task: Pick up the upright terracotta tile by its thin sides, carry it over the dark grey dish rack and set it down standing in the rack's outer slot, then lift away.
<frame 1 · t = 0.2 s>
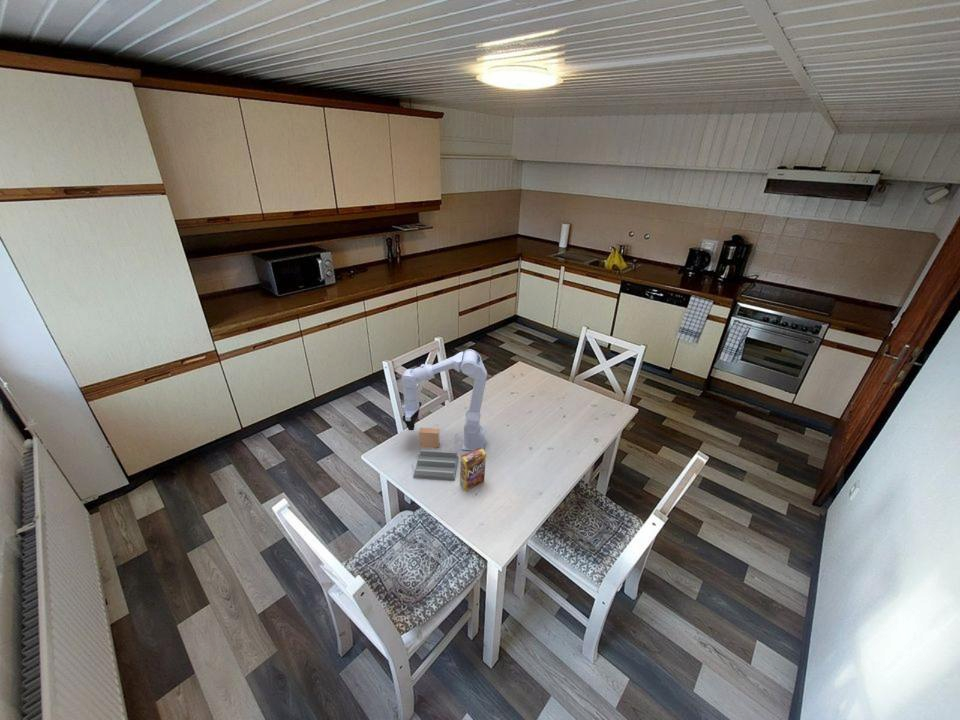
hand: (413, 424, 163), 10 cm above the table, fingers open, 7 cm apart
rack: (436, 467, 155), on the table
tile: (430, 445, 166), on the table
candy box: (472, 484, 148), on the table
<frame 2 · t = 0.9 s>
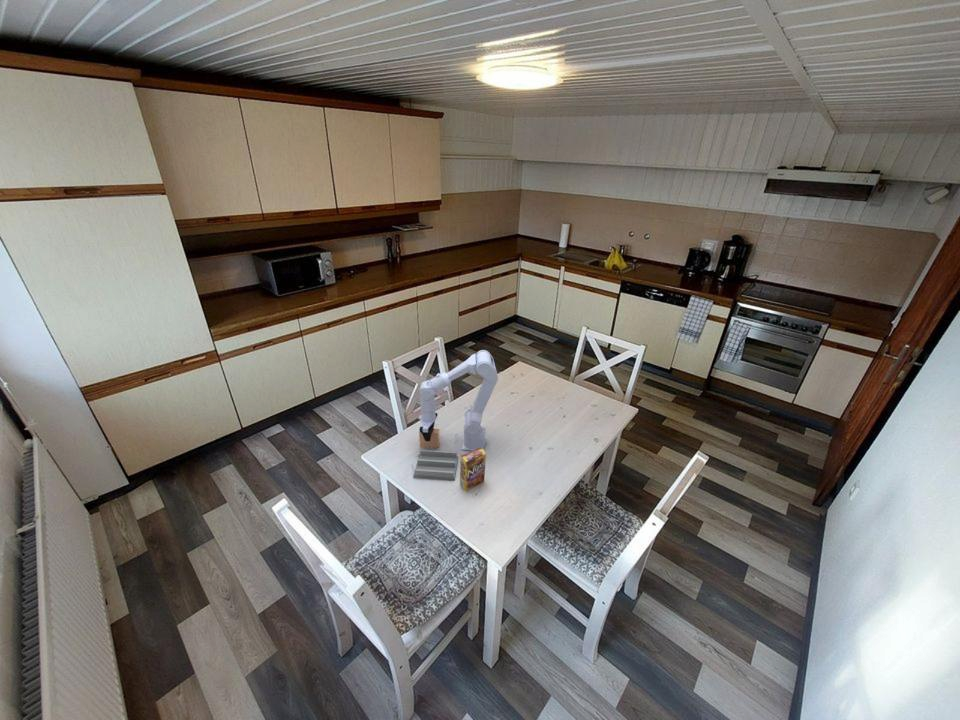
hand: (429, 434, 163), 6 cm above the table, fingers open, 7 cm apart
nothing on the table moved.
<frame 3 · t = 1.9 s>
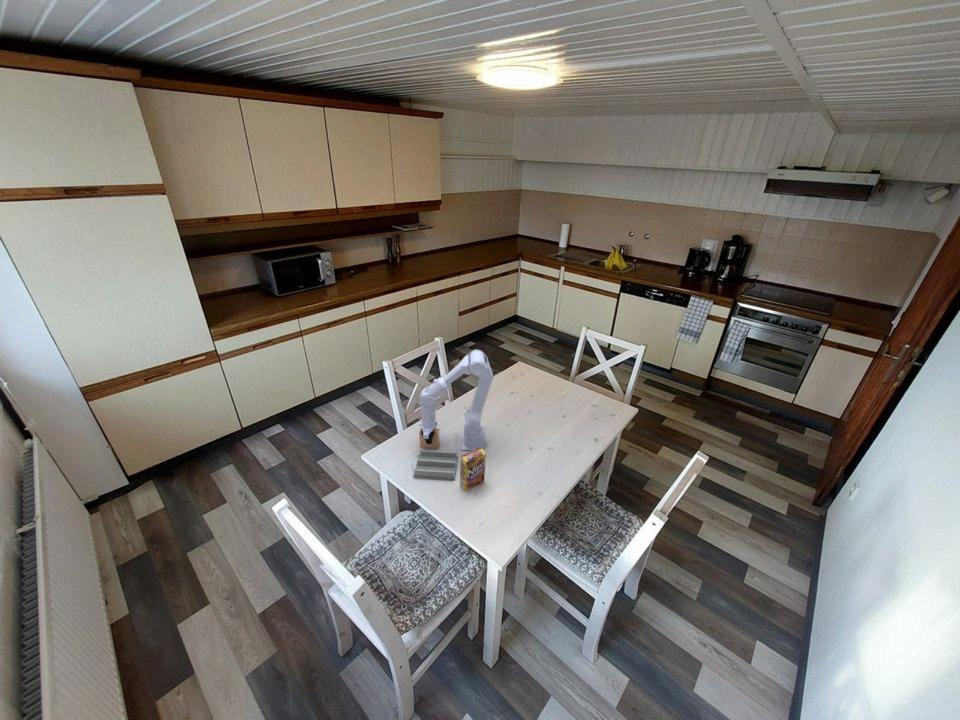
hand: (429, 440, 165), 2 cm above the table, fingers closed on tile, 3 cm apart
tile: (430, 445, 166), on the table, touching gripper
everything else where it was.
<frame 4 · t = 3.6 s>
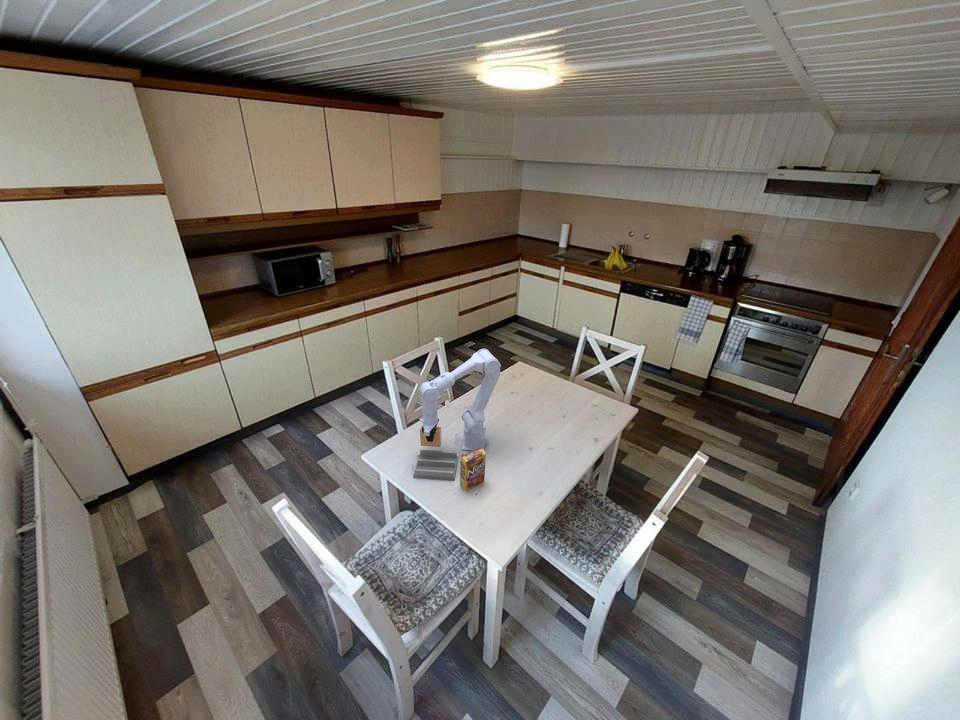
hand: (431, 438, 156), 9 cm above the table, fingers closed on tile, 3 cm apart
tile: (431, 444, 157), point 6 cm above the table, touching gripper
everything else where it was.
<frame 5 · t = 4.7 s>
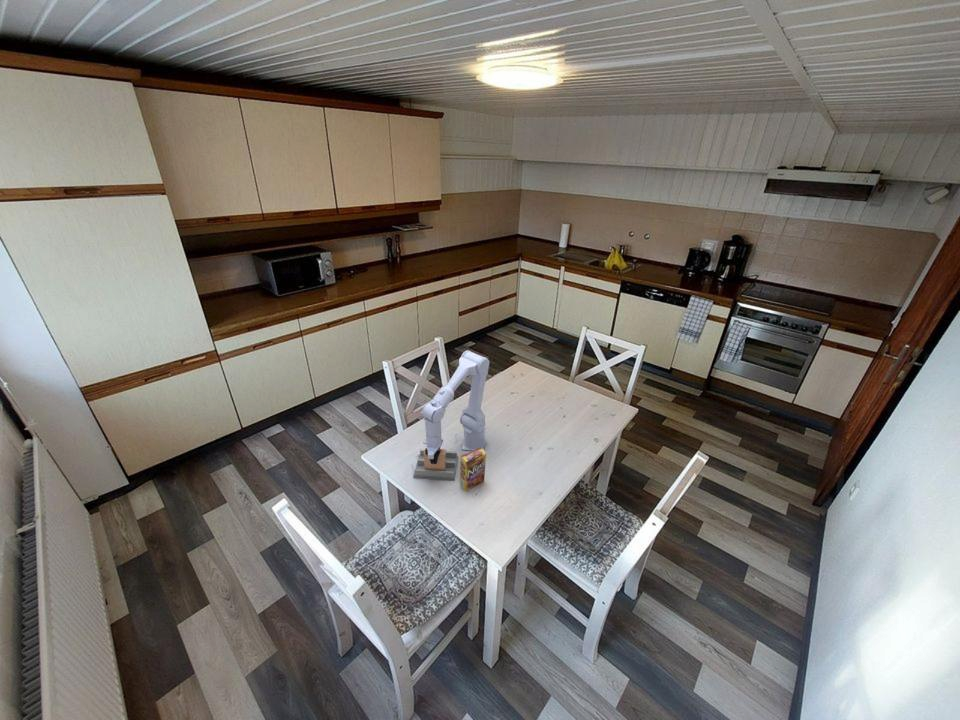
hand: (434, 459, 149), 7 cm above the table, fingers closed on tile, 3 cm apart
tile: (435, 467, 151), point 3 cm above the table, touching gripper
everything else where it was.
when the fingers open (5 cm above the table, at t = 5.3 s): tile stays where it is, resting on rack.
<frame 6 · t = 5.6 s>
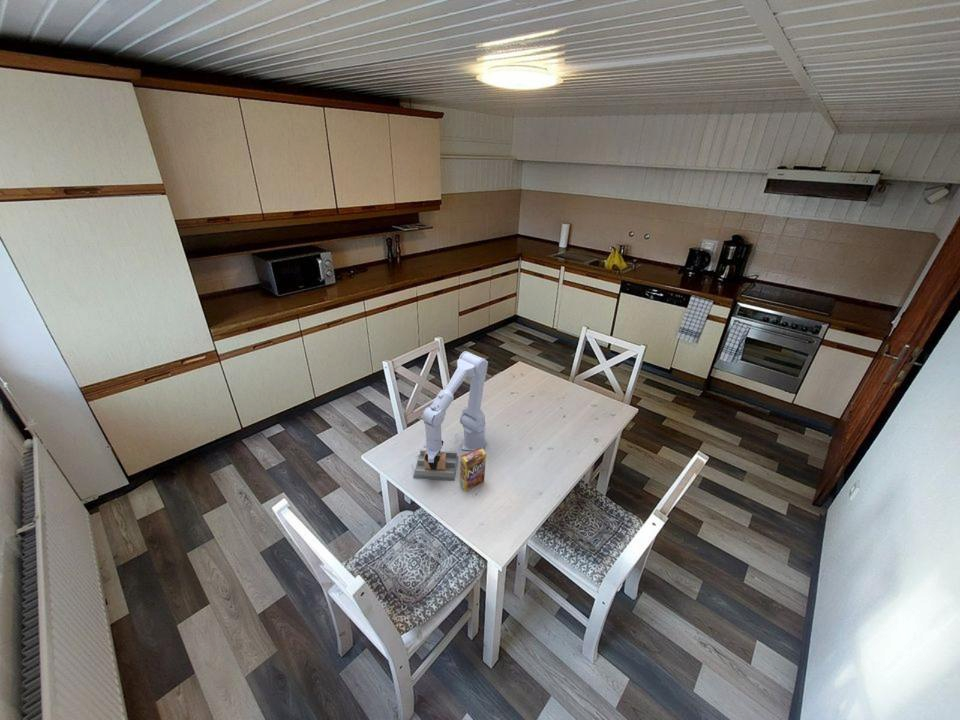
hand: (434, 463, 150), 5 cm above the table, fingers open, 5 cm apart
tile: (435, 470, 152), point 1 cm above the table, touching rack
everything else where it was.
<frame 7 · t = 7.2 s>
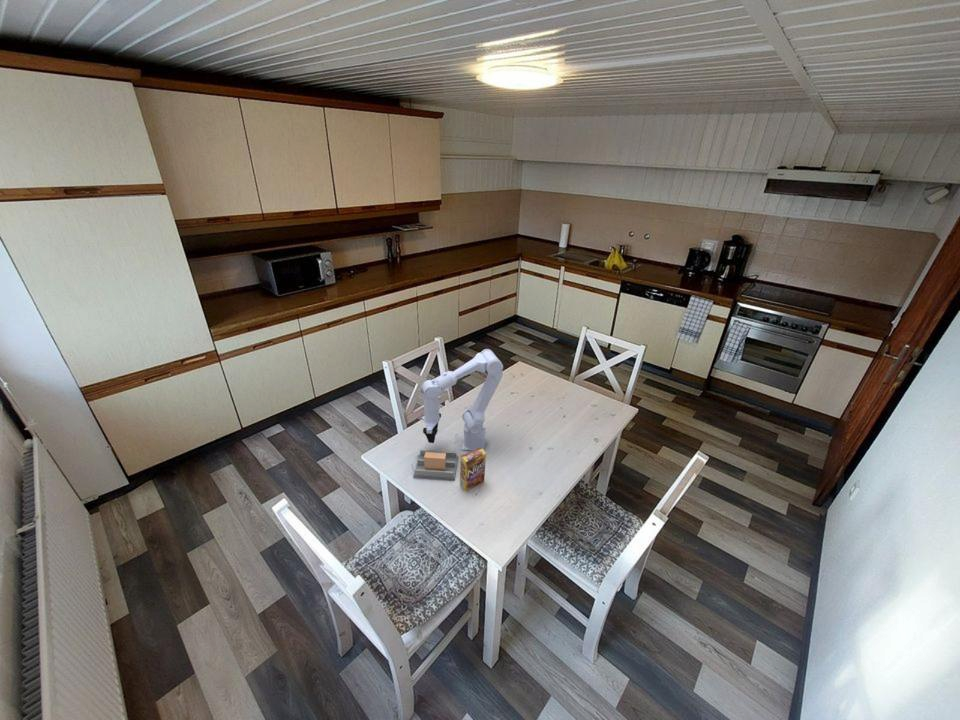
hand: (433, 435, 157), 9 cm above the table, fingers open, 7 cm apart
nothing on the table moved.
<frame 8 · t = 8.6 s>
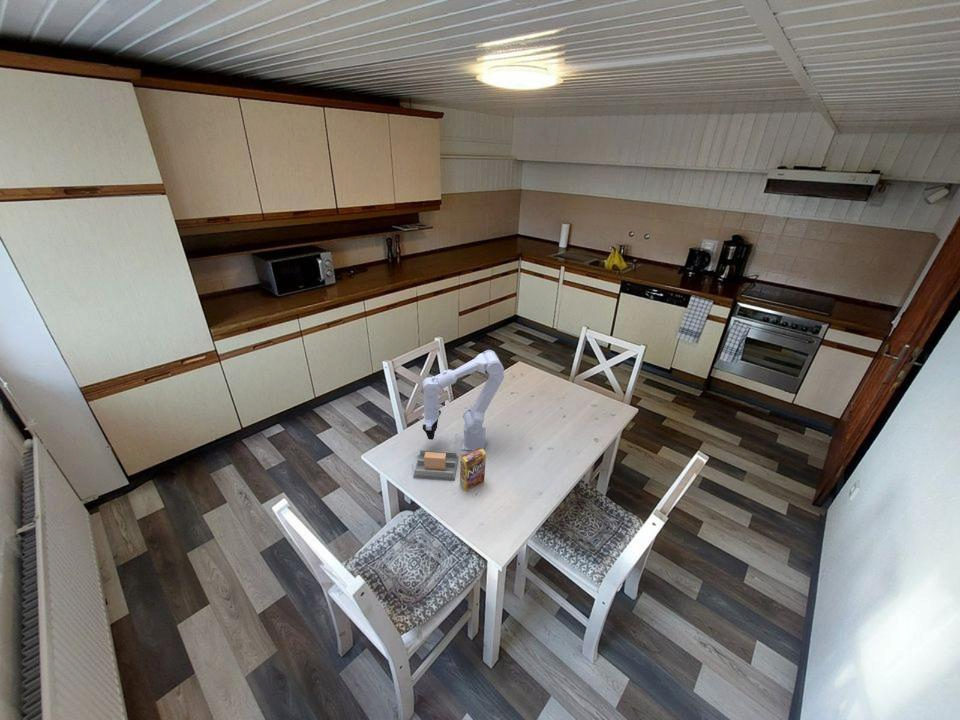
hand: (432, 432, 159), 9 cm above the table, fingers open, 7 cm apart
nothing on the table moved.
at the end: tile 0.2 cm from the target spot on the rack, point 1.2 cm above the rack's base; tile tilted 0°; the gripper is holding nothing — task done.
